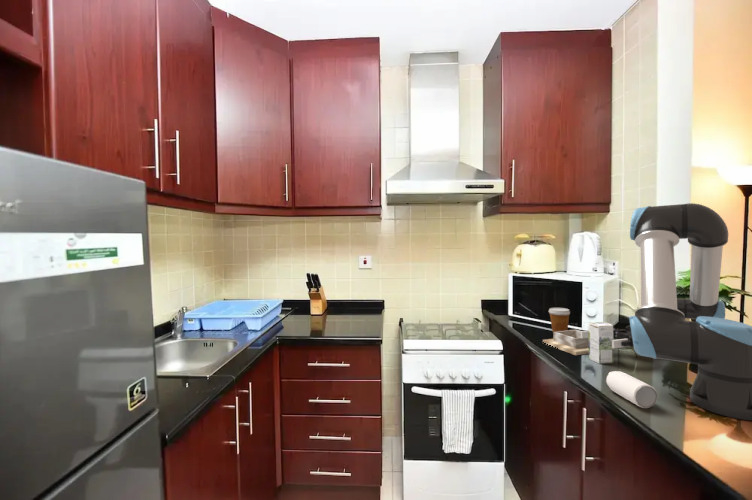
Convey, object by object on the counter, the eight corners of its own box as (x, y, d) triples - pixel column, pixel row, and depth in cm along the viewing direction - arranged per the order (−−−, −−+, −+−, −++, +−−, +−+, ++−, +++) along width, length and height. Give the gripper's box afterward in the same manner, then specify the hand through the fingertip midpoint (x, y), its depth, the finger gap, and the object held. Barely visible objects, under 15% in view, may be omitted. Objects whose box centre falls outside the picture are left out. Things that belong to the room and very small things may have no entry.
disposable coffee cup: (550, 335, 164) (550, 310, 164) (547, 330, 173) (546, 307, 173) (573, 336, 161) (572, 311, 161) (568, 331, 170) (567, 307, 170)
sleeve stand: (611, 350, 139) (611, 337, 139) (575, 355, 135) (575, 341, 135) (575, 339, 156) (575, 327, 156) (542, 343, 152) (542, 331, 152)
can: (633, 386, 91) (603, 370, 103) (635, 410, 91) (605, 391, 103) (657, 383, 91) (624, 368, 103) (659, 407, 91) (626, 389, 103)
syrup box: (602, 358, 130) (601, 320, 130) (614, 363, 124) (613, 324, 124) (588, 359, 130) (587, 321, 130) (599, 364, 124) (598, 325, 124)
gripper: (675, 353, 120) (628, 359, 115) (611, 335, 144) (570, 340, 139) (675, 332, 120) (628, 337, 115) (610, 318, 144) (569, 322, 139)
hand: (596, 339), depth 127 cm, fingers open, 13 cm apart
